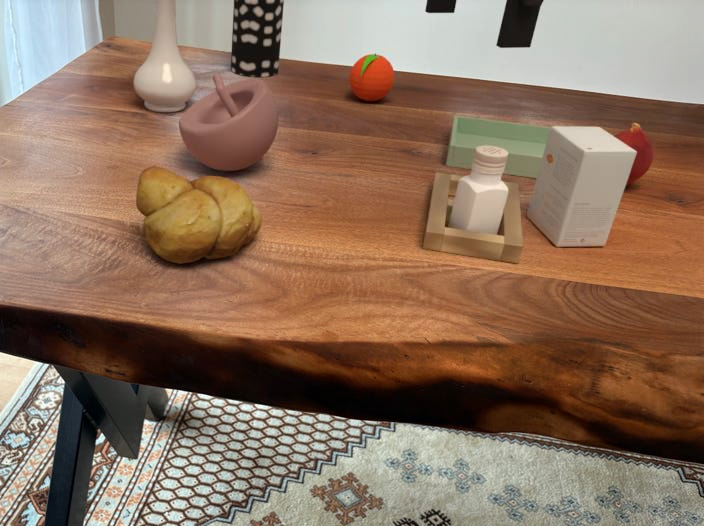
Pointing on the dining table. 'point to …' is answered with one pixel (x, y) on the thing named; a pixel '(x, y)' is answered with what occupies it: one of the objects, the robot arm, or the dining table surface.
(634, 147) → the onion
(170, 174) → the bread roll
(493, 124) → the tray
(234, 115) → the mortar and pestle
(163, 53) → the flower vase
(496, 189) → the pepper shaker
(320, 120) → the dining table surface
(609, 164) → the small box
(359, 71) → the clementine
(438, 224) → the spice stand
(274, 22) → the spotted tube
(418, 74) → the dining table surface
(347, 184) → the dining table surface
